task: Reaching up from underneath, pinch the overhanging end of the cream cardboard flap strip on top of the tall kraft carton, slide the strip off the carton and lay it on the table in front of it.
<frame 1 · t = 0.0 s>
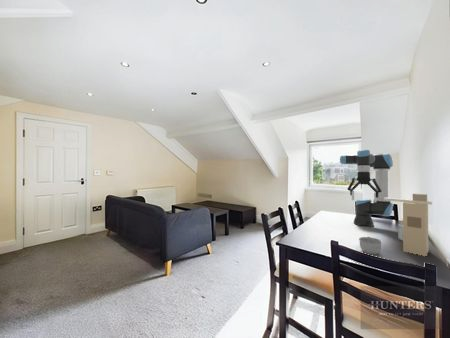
hand: (363, 201, 141), 28 cm above the table, tool pointing down, fingers open, 13 cm apart
carton: (415, 251, 121), on the table
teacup: (370, 252, 121), on the table
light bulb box: (408, 241, 139), on the table
flap strip: (406, 201, 125), point 30 cm above the table, touching carton
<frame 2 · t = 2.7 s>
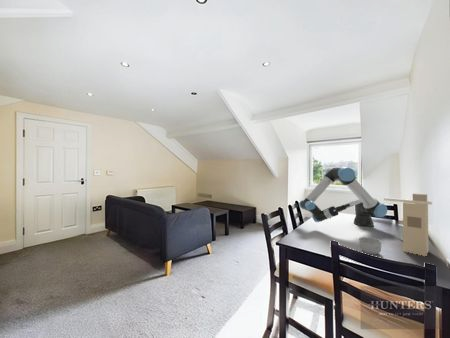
hand: (357, 201, 145), 27 cm above the table, tool pointing upward, fingers open, 13 cm apart
nothing on the table moved.
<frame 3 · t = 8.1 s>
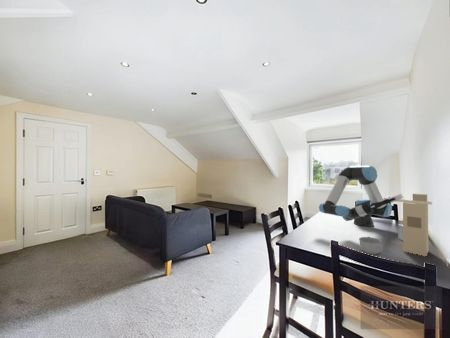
hand: (401, 196, 127), 33 cm above the table, tool pointing upward, fingers closed on flap strip, 4 cm apart
flap strip: (406, 201, 125), point 30 cm above the table, touching carton, gripper
everything else where it was.
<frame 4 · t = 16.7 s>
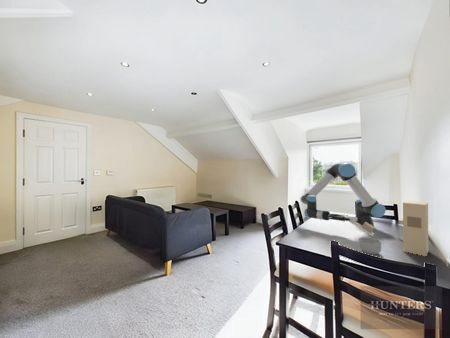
hand: (356, 219, 146), 13 cm above the table, tool horizontal, fingers closed on flap strip, 4 cm apart
flap strip: (356, 225, 146), point 9 cm above the table, tilted 28°, touching gripper
everything else where it was.
when the fingers open (9 cm above the table, at t = 18.1 s): flap strip drops 6 cm, on the table.
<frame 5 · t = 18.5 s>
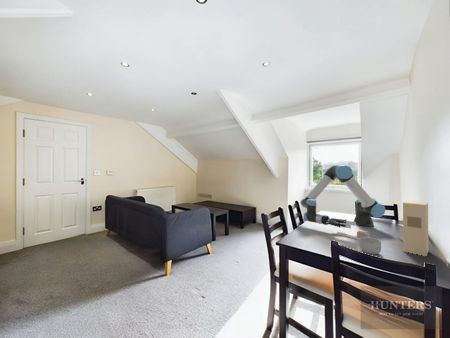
hand: (353, 225, 147), 9 cm above the table, tool horizontal, fingers open, 10 cm apart
flap strip: (353, 237, 147), on the table
everything else where it was.
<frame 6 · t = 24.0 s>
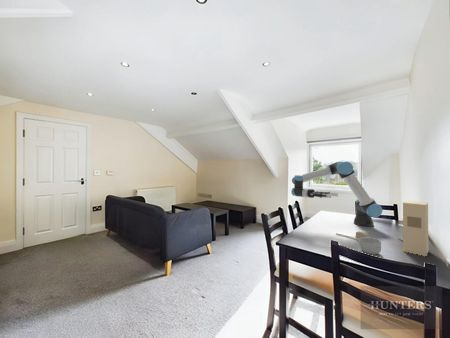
hand: (334, 195, 157), 30 cm above the table, tool horizontal, fingers open, 13 cm apart
flap strip: (352, 238, 146), on the table
everything else where it was.
at the end: flap strip on the table; flap strip touching table; the gripper is holding nothing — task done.
